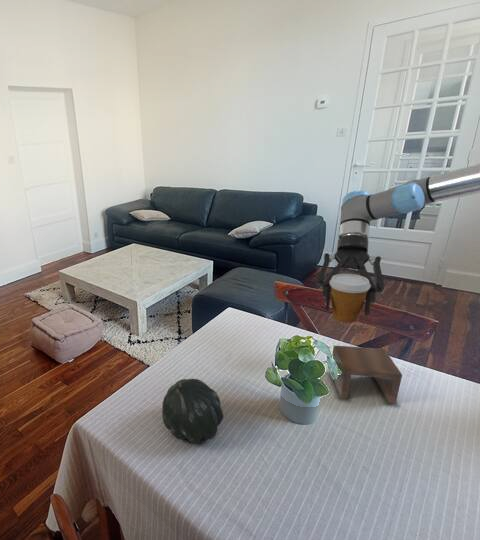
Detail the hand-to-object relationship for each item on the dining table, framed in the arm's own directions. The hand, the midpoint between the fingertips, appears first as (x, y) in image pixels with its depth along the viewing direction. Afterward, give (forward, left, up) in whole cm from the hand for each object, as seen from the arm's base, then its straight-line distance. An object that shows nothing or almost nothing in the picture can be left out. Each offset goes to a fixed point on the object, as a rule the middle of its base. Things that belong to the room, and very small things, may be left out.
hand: (346, 311), depth 93 cm
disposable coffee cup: (-1, -3, -4) cm, 5 cm away
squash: (+39, +31, -19) cm, 54 cm away
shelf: (-3, +8, -18) cm, 21 cm away
